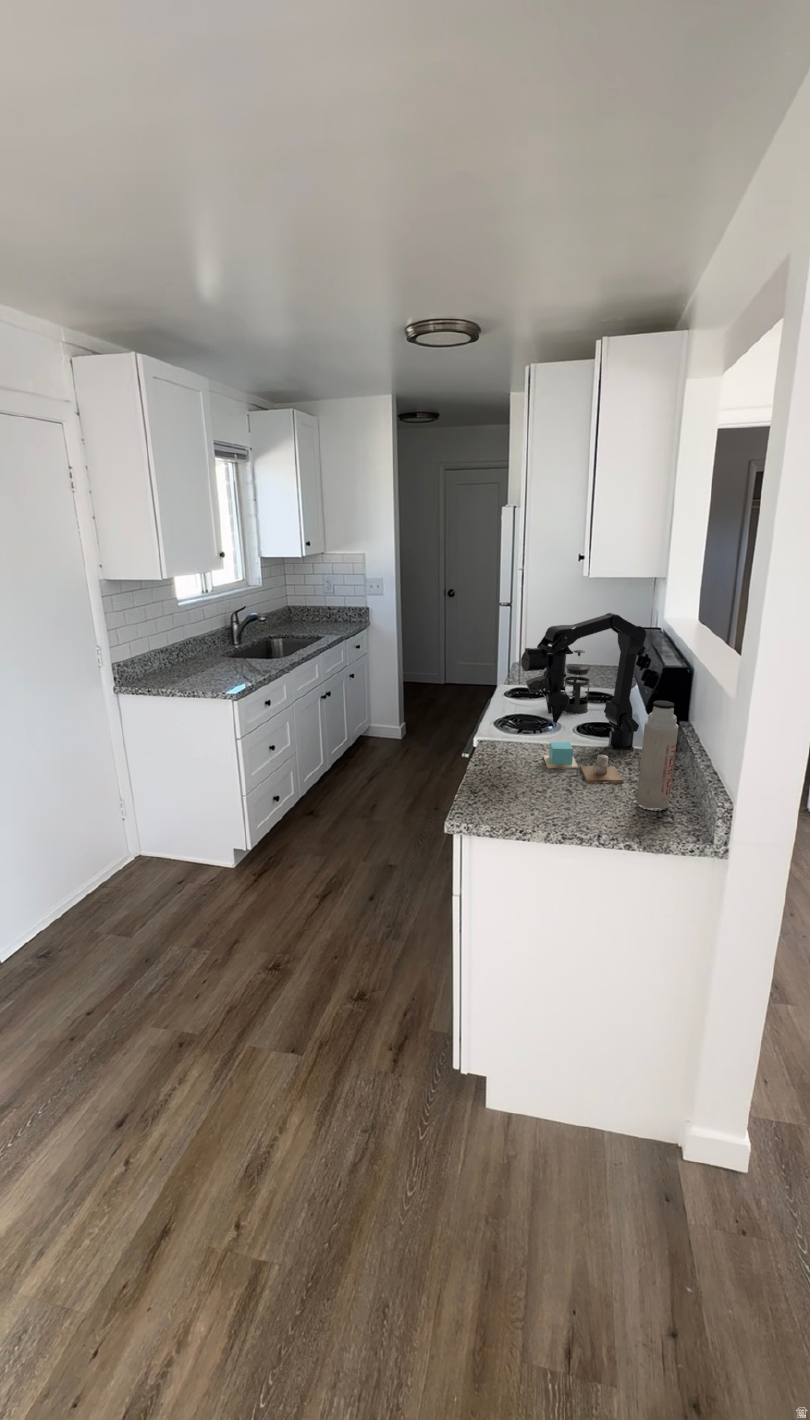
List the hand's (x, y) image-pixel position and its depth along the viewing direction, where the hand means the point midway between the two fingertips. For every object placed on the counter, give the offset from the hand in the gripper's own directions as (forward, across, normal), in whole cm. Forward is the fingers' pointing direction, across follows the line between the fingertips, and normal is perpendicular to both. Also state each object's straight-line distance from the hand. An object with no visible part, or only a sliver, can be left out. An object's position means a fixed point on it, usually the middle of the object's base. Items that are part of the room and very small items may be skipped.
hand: (552, 717), depth 206 cm
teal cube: (+11, +7, +2) cm, 13 cm away
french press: (+12, -47, +16) cm, 51 cm away
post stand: (+12, +17, +12) cm, 24 cm away
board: (+12, +7, +2) cm, 14 cm away
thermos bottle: (+12, +36, +21) cm, 43 cm away
